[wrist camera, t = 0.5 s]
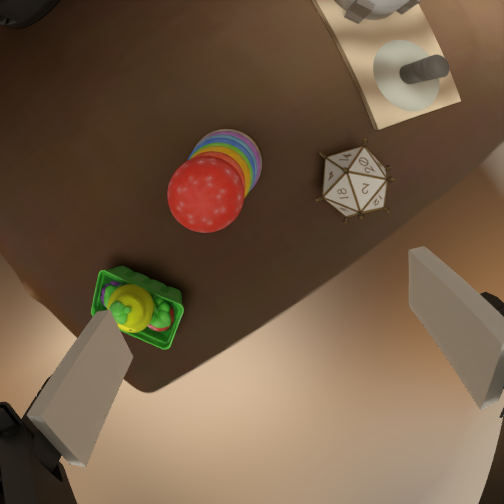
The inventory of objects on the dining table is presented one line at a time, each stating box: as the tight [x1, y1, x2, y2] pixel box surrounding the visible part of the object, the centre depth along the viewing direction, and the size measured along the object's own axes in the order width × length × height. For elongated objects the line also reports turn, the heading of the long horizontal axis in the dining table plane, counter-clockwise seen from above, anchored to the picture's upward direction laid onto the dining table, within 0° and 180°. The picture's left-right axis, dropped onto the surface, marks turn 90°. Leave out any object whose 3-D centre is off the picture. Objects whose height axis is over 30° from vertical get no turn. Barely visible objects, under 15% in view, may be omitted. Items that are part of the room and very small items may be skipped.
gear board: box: [311, 0, 461, 130], centre depth 25 cm, size 22×13×9 cm, turn 25°
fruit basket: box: [91, 266, 184, 349], centre depth 37 cm, size 11×9×11 cm
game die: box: [315, 138, 394, 224], centre depth 33 cm, size 9×8×10 cm
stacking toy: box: [167, 129, 262, 233], centre depth 27 cm, size 8×8×19 cm
